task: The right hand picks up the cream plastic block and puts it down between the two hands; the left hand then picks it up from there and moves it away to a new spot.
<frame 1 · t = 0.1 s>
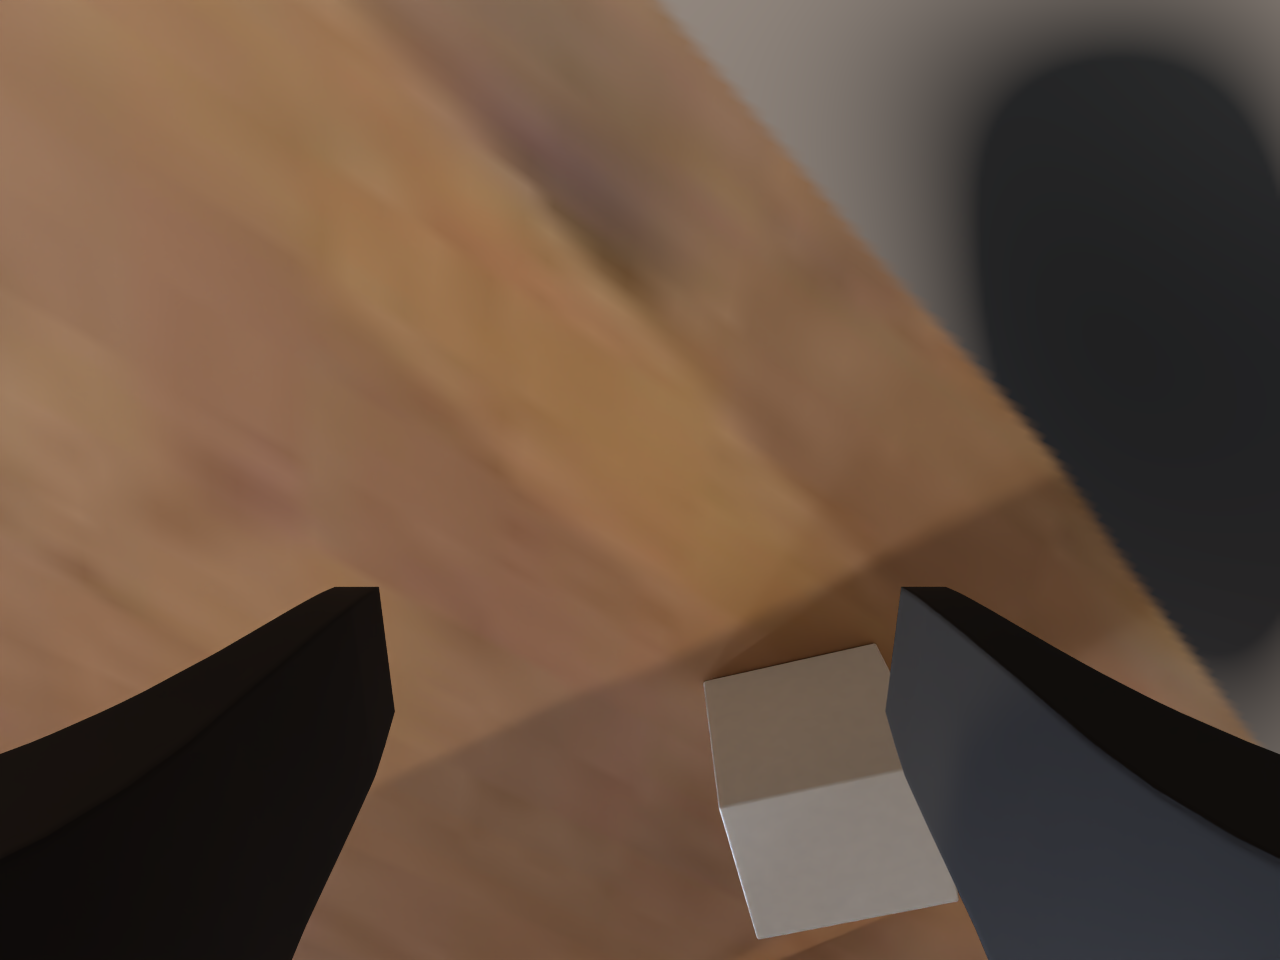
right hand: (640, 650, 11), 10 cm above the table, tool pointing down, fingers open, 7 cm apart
block: (802, 722, 24), on the table
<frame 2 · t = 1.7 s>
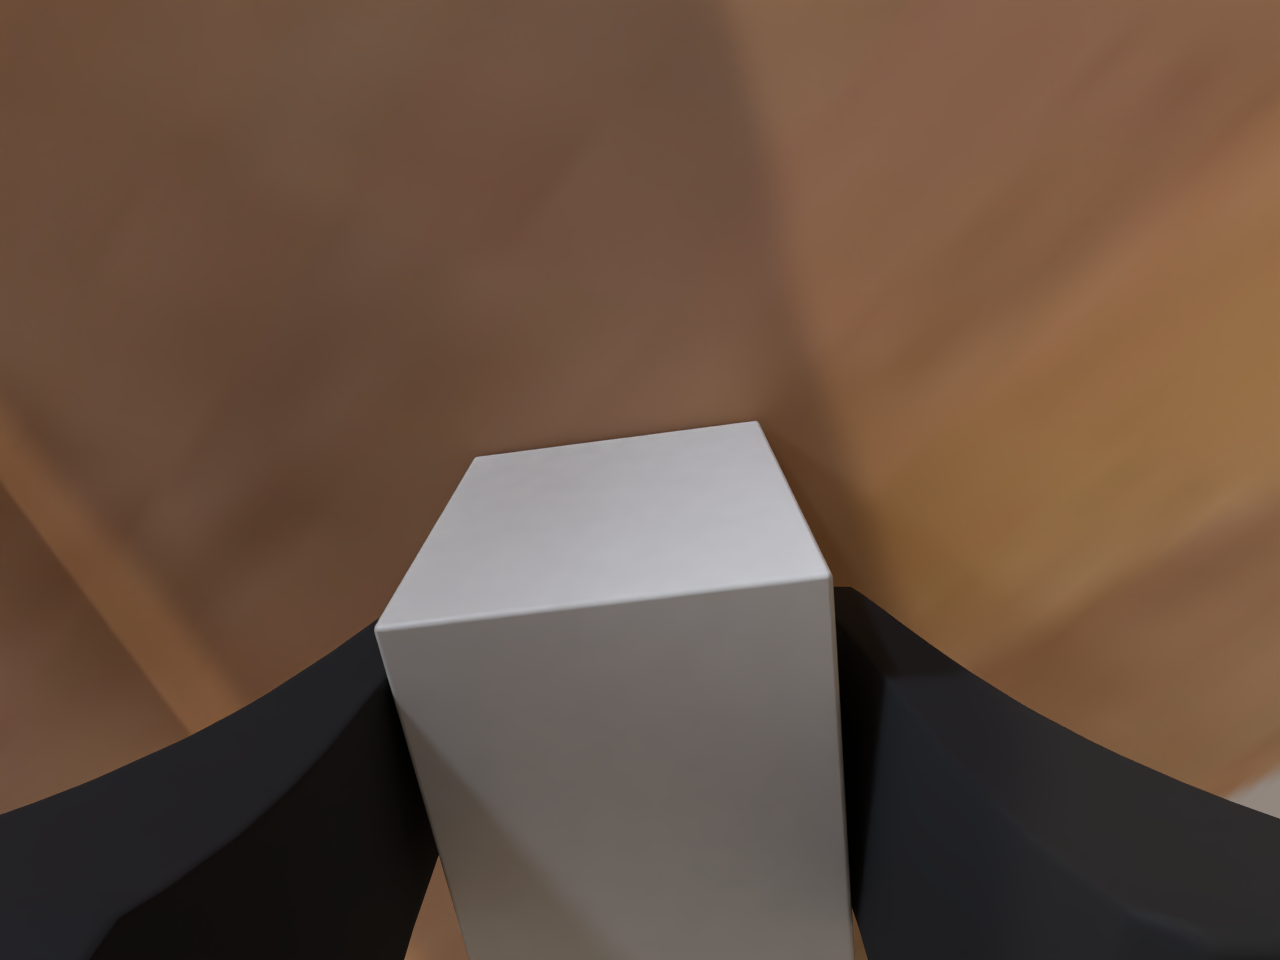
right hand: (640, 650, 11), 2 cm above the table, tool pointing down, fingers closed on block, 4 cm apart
block: (637, 584, 13), on the table, touching right hand
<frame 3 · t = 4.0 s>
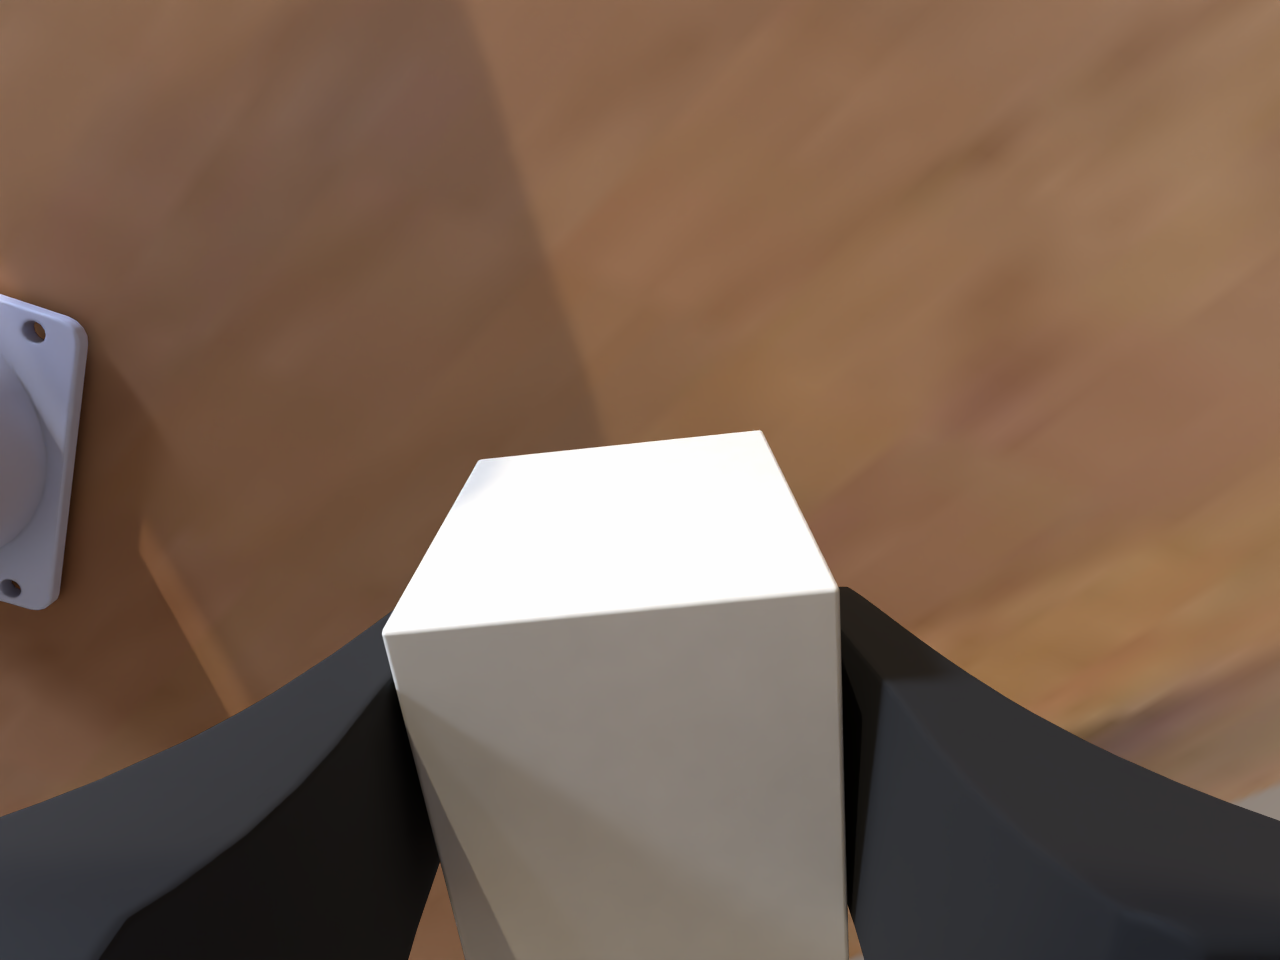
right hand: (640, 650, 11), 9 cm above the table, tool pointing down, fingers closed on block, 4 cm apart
block: (637, 590, 13), point 7 cm above the table, touching right hand
when the right hand's fingers open (3 cm above the table, at t = 6.2 s): block drops 1 cm, on the table.
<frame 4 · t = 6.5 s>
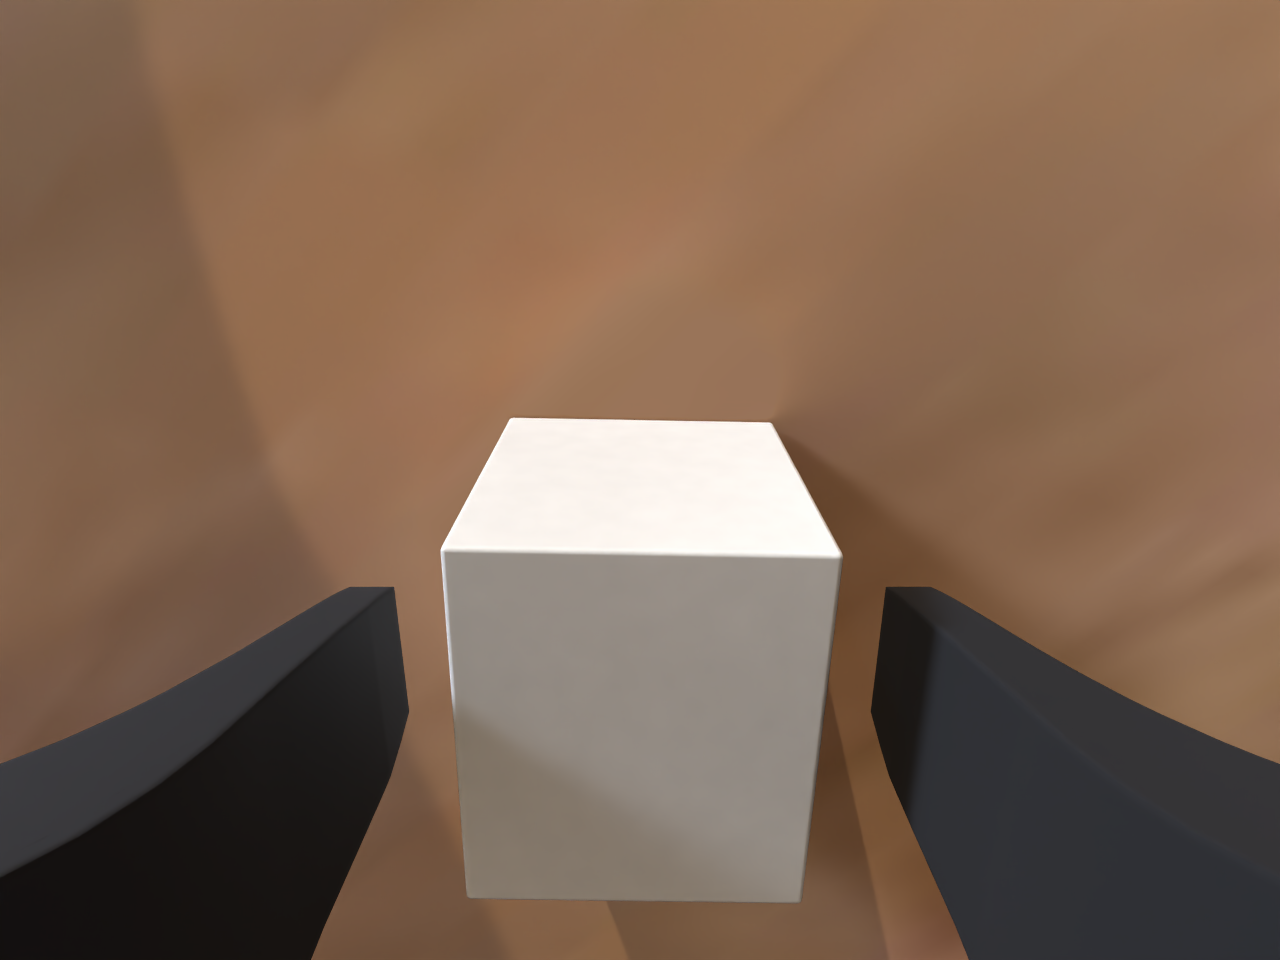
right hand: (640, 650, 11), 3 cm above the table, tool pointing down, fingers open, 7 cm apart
block: (638, 556, 14), on the table
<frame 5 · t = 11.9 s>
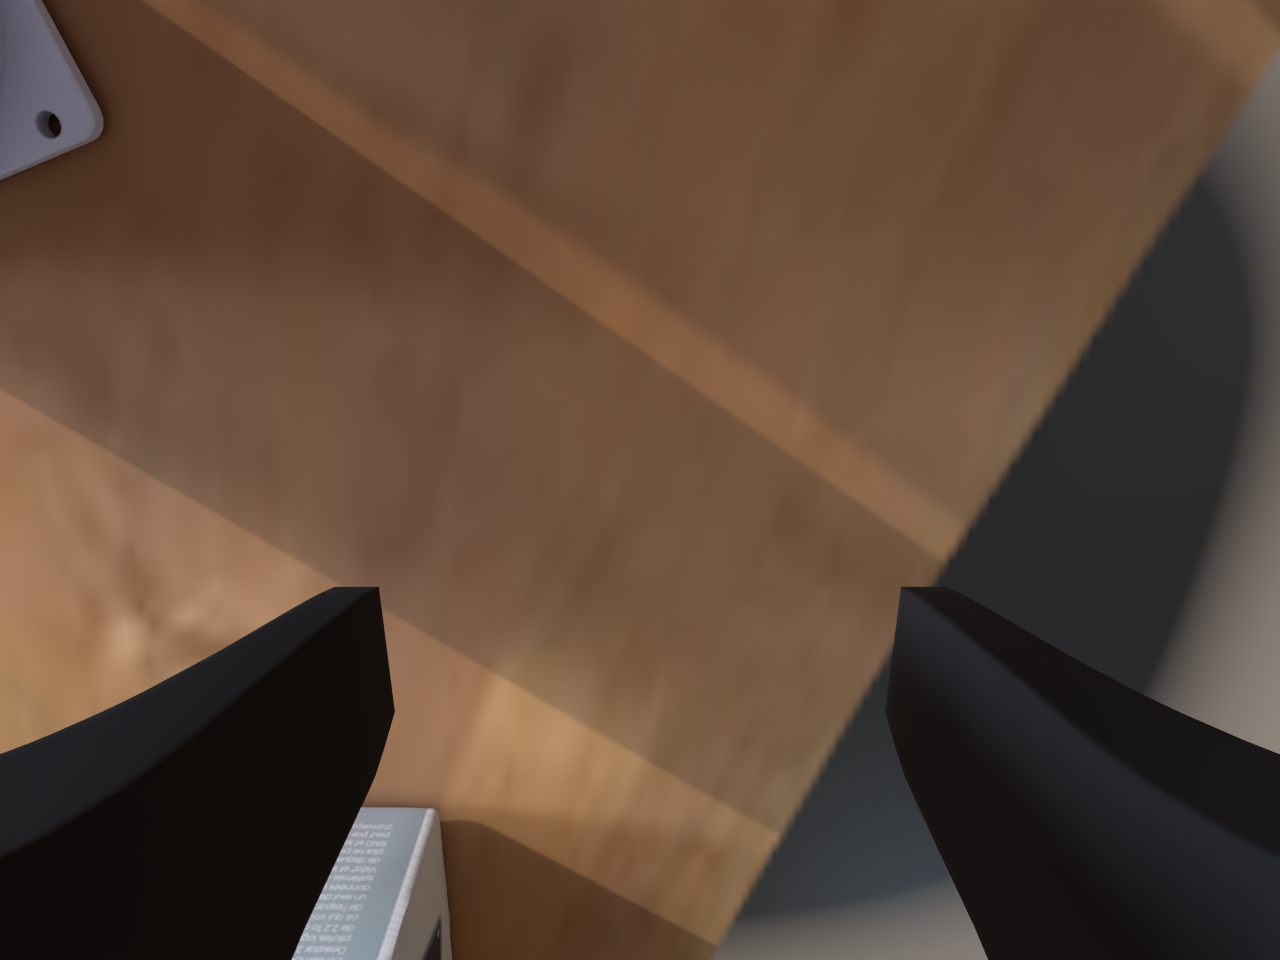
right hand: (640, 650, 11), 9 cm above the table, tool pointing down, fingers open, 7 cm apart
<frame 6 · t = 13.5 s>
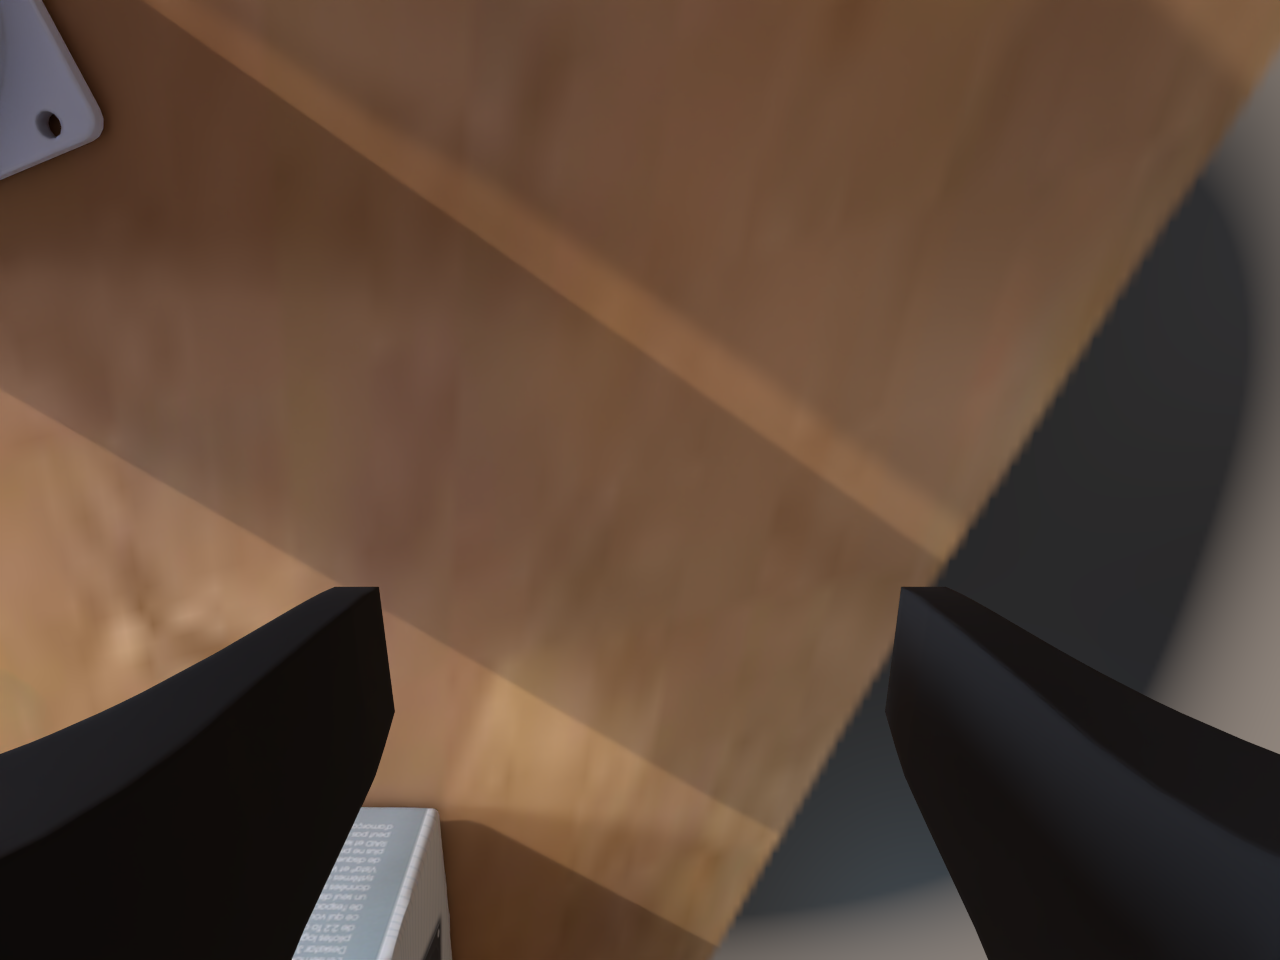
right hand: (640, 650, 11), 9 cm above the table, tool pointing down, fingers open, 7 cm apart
when the left hand's fingers open (4 cm above the table, at t = 15.3 s): block drops 1 cm, on the table.
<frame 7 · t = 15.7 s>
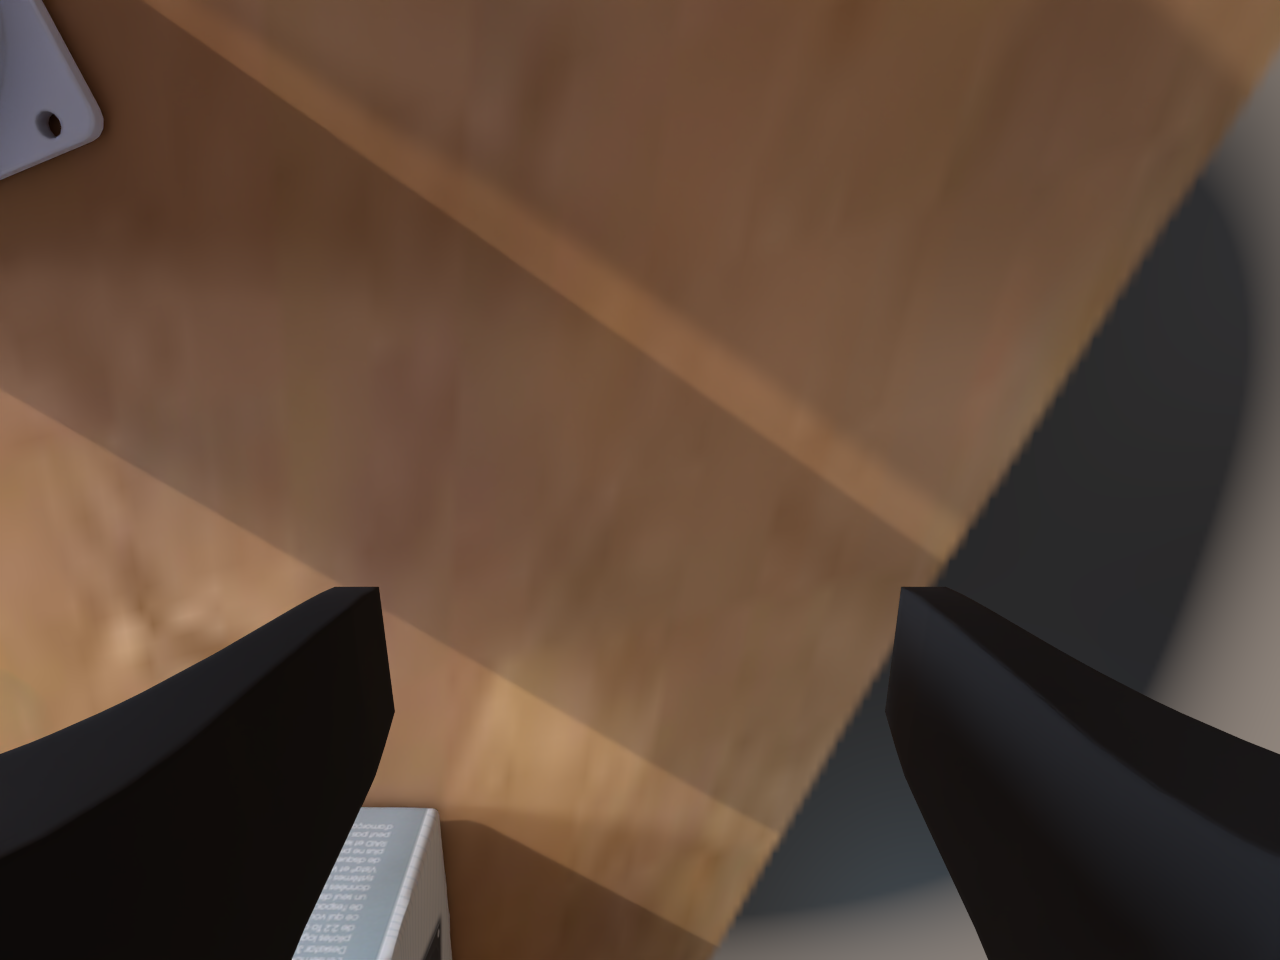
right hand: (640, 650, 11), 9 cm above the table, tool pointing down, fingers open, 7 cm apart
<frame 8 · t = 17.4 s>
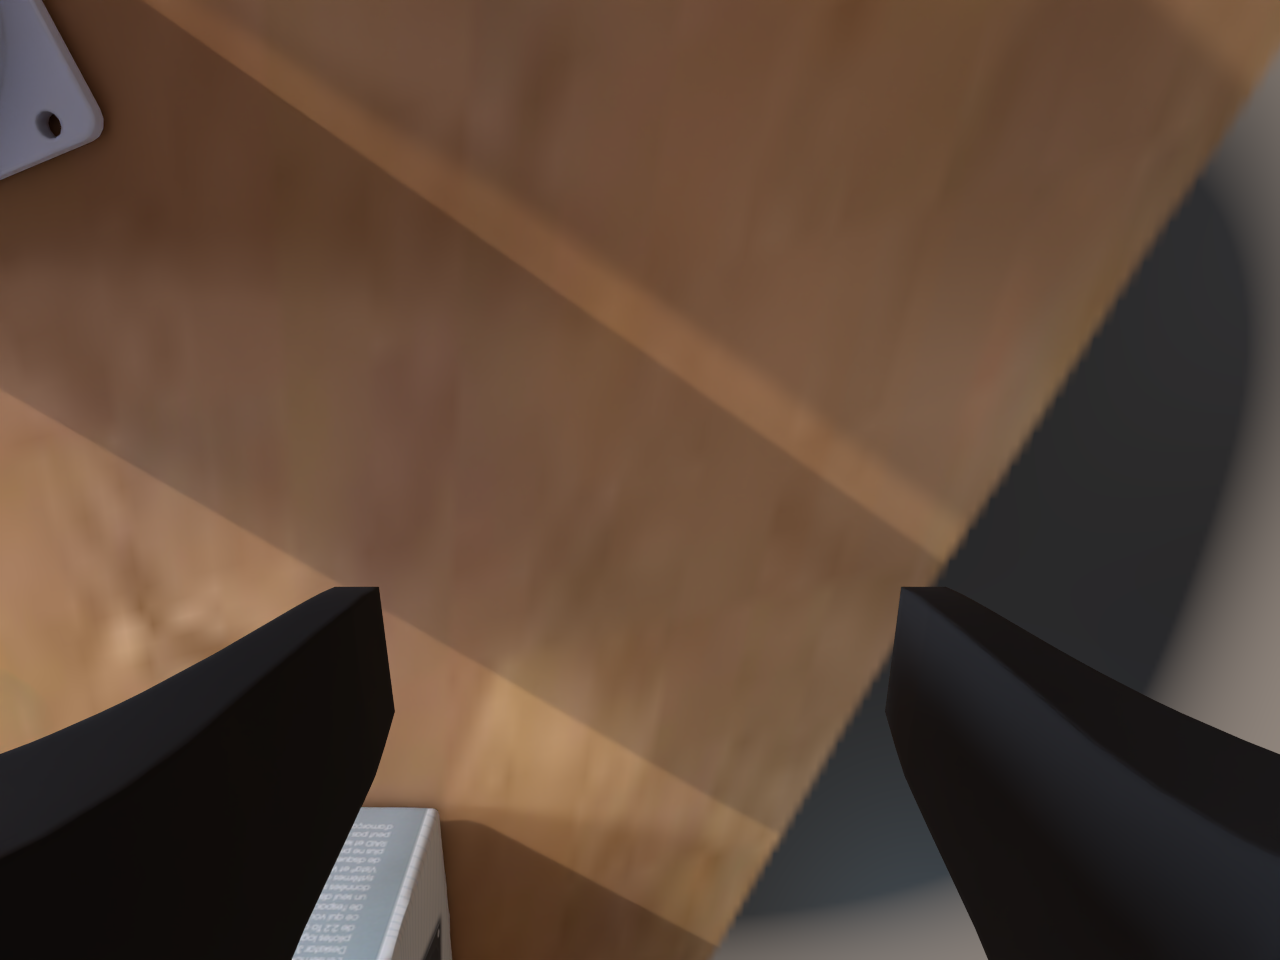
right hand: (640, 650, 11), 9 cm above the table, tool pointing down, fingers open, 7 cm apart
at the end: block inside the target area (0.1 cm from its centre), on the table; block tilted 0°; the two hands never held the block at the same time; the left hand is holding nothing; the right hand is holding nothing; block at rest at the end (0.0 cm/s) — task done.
